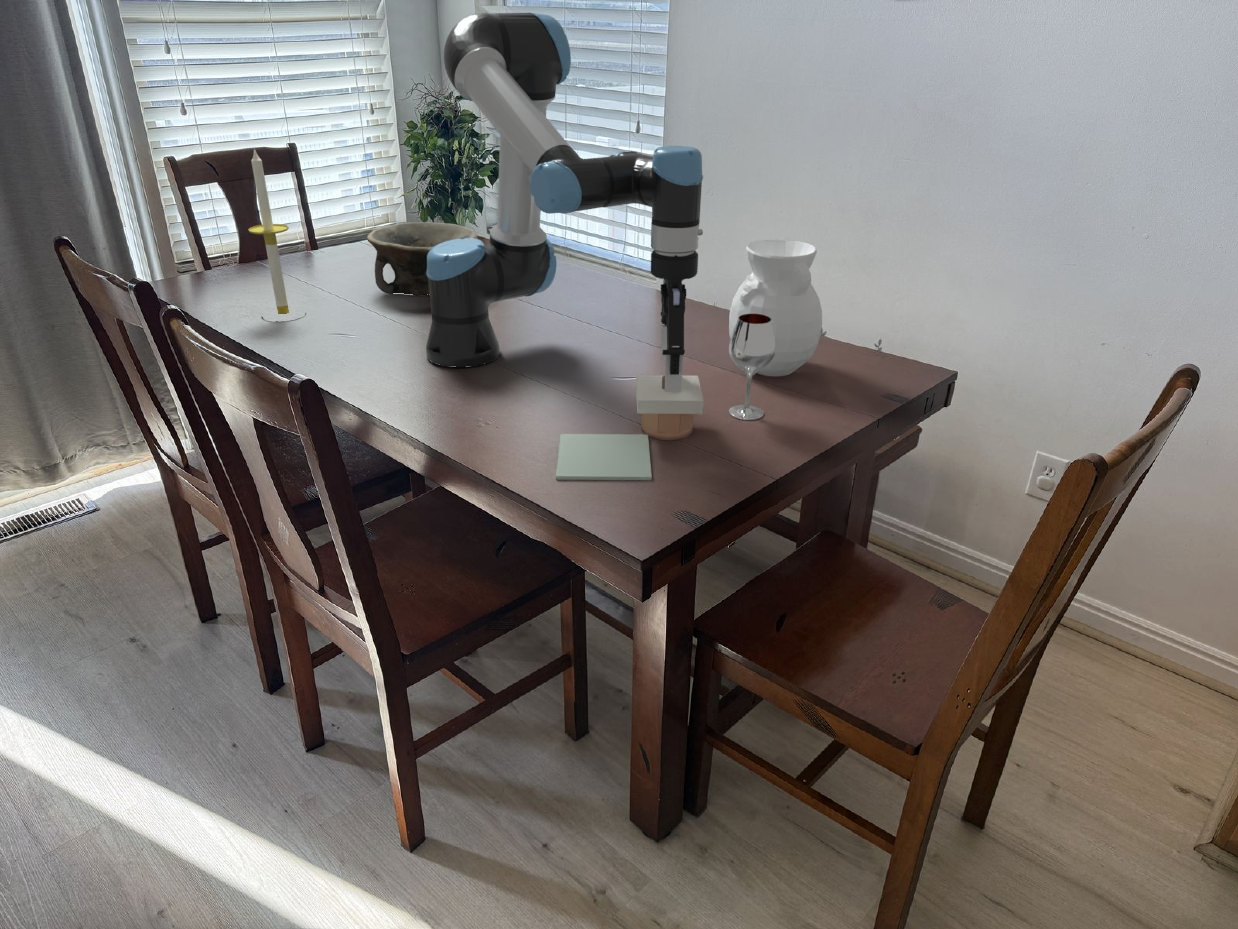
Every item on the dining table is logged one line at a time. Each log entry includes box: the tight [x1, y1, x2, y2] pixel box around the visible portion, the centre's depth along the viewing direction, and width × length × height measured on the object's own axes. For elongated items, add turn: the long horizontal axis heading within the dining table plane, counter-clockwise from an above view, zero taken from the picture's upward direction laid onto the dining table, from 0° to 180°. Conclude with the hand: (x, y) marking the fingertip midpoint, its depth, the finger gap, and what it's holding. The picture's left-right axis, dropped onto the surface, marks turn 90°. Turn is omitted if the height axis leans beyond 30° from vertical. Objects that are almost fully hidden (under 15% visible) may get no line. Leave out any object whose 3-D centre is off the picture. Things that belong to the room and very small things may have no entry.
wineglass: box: [728, 314, 776, 421], centre depth 154 cm, size 8×8×18 cm
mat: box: [555, 433, 652, 481], centre depth 142 cm, size 15×15×1 cm
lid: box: [635, 374, 705, 415], centre depth 148 cm, size 11×11×4 cm
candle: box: [248, 147, 289, 314], centre depth 194 cm, size 10×10×38 cm
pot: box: [640, 413, 695, 441], centre depth 150 cm, size 9×9×6 cm
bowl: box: [366, 221, 478, 296], centre depth 219 cm, size 27×26×15 cm
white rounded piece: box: [728, 239, 823, 377], centre depth 172 cm, size 19×18×25 cm
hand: (670, 375), depth 147 cm, fingers open, 13 cm apart
